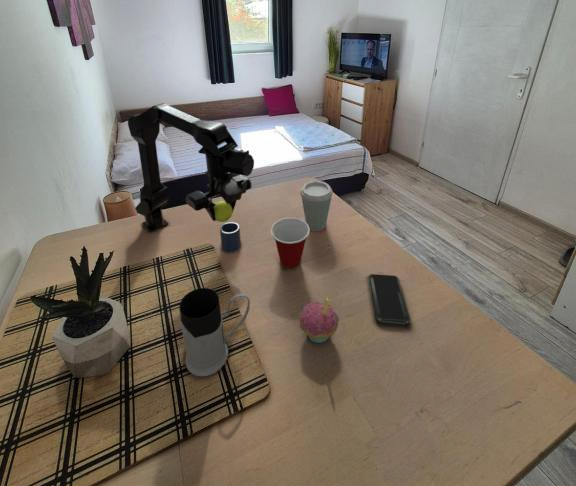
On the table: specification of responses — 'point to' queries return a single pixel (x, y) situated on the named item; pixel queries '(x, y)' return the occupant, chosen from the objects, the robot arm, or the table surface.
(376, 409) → the table surface
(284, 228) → the plastic cup
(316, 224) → the disposable coffee cup
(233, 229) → the tumbler
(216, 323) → the grey mug
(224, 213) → the ball
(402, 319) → the phone
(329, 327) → the cupcake
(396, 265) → the table surface
